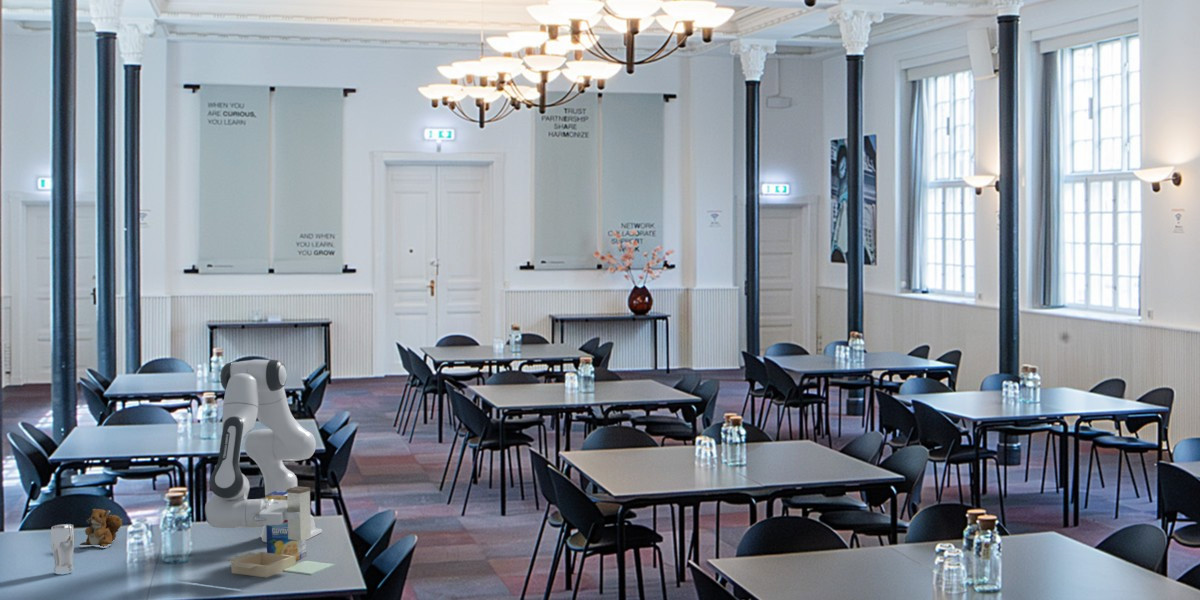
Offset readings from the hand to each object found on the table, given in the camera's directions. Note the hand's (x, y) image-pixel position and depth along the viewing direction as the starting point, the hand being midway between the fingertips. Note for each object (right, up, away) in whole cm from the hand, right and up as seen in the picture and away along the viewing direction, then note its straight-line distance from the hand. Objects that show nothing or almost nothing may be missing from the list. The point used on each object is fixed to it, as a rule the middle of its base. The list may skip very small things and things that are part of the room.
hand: (301, 511), depth 400 cm
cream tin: (-1, -8, 0) cm, 8 cm away
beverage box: (-8, -18, +15) cm, 25 cm away
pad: (+2, -19, +1) cm, 19 cm away
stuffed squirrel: (-79, -18, +38) cm, 89 cm away
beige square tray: (-14, -19, -1) cm, 24 cm away
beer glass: (-76, -20, +2) cm, 79 cm away
